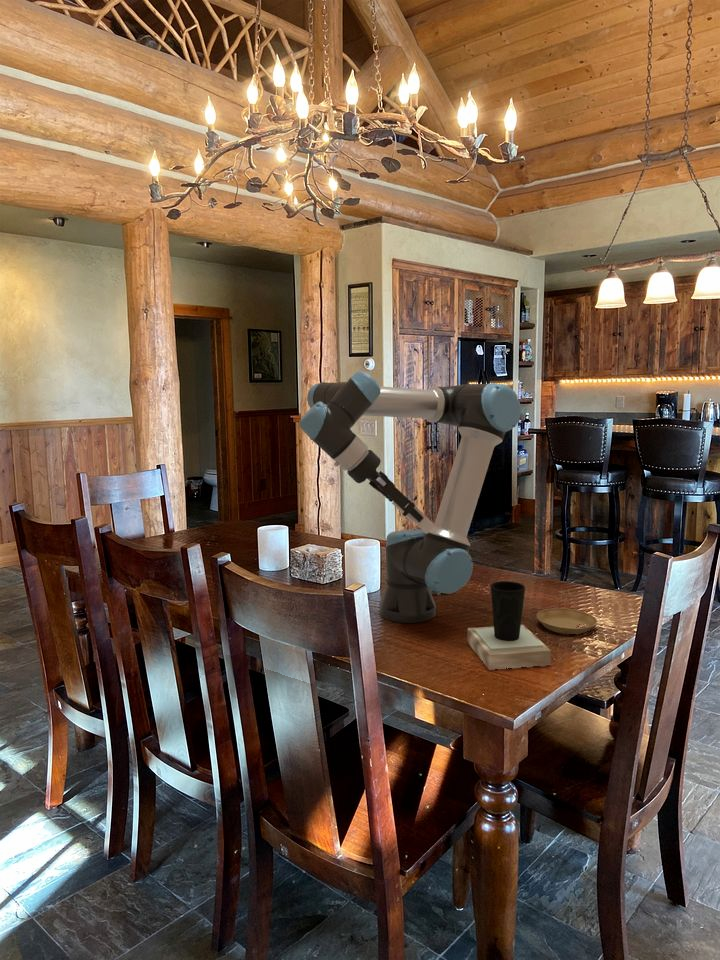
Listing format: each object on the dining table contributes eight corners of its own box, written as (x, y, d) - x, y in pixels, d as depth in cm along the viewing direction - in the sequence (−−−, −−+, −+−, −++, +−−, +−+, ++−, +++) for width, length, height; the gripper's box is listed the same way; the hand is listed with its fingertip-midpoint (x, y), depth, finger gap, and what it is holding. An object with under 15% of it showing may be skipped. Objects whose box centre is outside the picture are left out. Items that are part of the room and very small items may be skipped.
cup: (521, 630, 153) (522, 581, 151) (526, 643, 145) (527, 591, 144) (488, 630, 154) (489, 580, 152) (491, 642, 146) (492, 590, 145)
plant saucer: (603, 624, 168) (604, 615, 168) (586, 643, 156) (587, 632, 156) (548, 613, 177) (548, 604, 176) (527, 630, 165) (528, 620, 164)
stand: (467, 642, 157) (467, 626, 156) (522, 638, 159) (523, 622, 158) (489, 670, 141) (489, 652, 141) (550, 665, 143) (551, 648, 142)
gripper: (338, 465, 157) (398, 523, 162) (355, 480, 133) (425, 547, 138) (359, 443, 158) (419, 502, 162) (380, 453, 133) (450, 522, 138)
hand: (422, 523), depth 150 cm, fingers open, 13 cm apart
